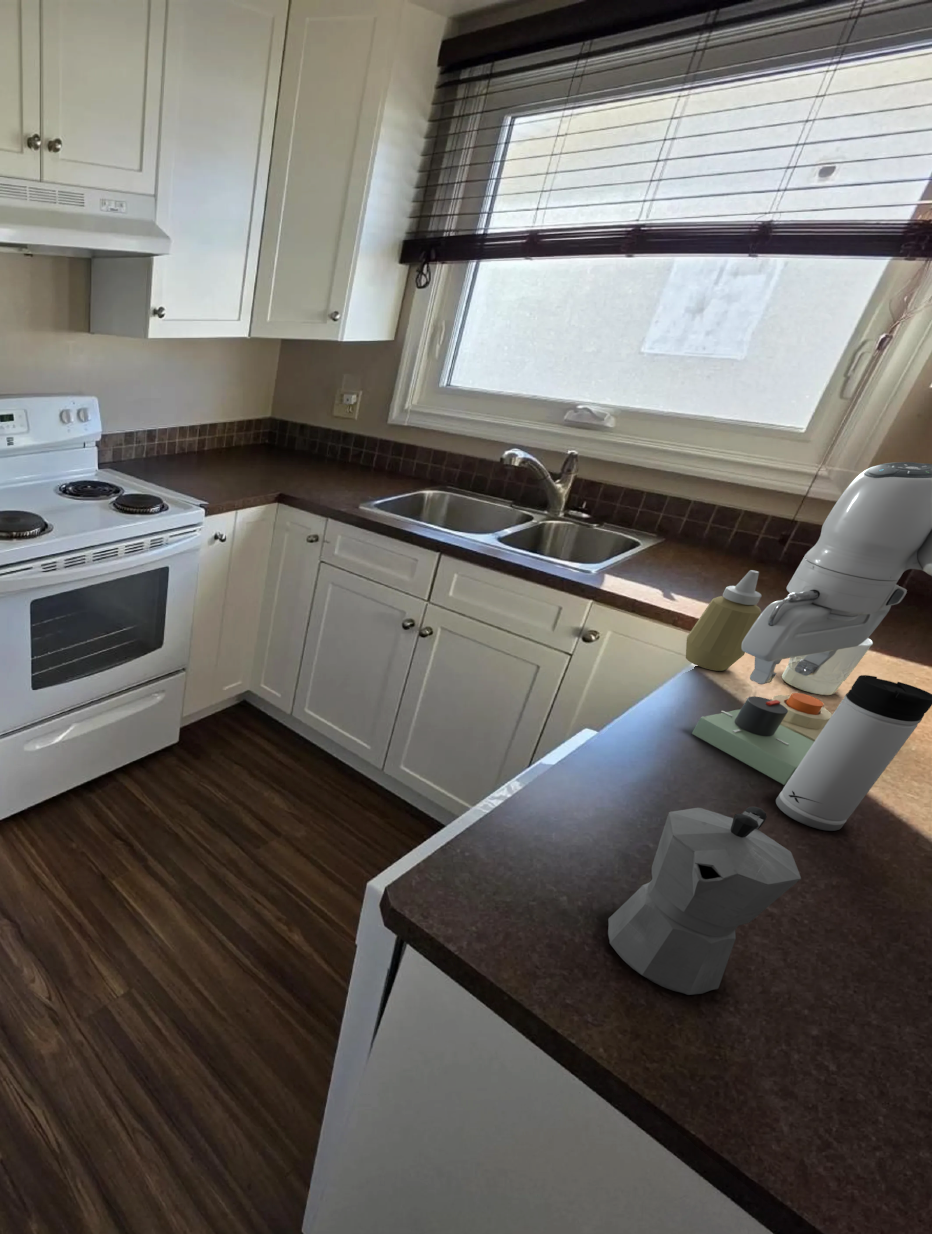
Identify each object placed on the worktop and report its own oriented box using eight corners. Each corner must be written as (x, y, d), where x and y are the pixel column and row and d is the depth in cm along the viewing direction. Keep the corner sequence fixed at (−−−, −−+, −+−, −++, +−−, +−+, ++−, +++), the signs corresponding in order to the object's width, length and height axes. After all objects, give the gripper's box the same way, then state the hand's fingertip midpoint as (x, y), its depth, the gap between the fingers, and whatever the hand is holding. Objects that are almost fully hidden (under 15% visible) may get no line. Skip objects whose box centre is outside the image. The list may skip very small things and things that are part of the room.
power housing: (860, 748, 100) (875, 726, 98) (821, 758, 97) (836, 736, 95) (774, 708, 109) (787, 687, 107) (736, 716, 106) (749, 694, 105)
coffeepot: (692, 1028, 60) (797, 886, 52) (578, 950, 67) (655, 814, 59) (747, 946, 68) (846, 812, 60) (640, 884, 75) (716, 755, 67)
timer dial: (760, 738, 96) (776, 713, 94) (726, 721, 100) (741, 696, 98) (781, 733, 97) (796, 709, 95) (747, 716, 101) (761, 692, 99)
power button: (823, 713, 101) (829, 704, 100) (807, 717, 100) (813, 707, 99) (795, 700, 104) (801, 691, 104) (779, 704, 103) (785, 694, 102)
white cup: (773, 682, 116) (804, 631, 112) (780, 668, 121) (809, 618, 116) (837, 703, 111) (871, 650, 106) (840, 687, 116) (874, 635, 111)
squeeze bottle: (672, 661, 122) (718, 569, 114) (683, 648, 127) (729, 558, 118) (728, 680, 117) (782, 584, 108) (738, 665, 121) (790, 573, 113)
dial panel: (831, 772, 94) (843, 754, 93) (783, 784, 92) (796, 766, 90) (734, 722, 105) (744, 705, 103) (689, 732, 102) (699, 715, 100)
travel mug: (780, 819, 85) (871, 686, 76) (770, 791, 90) (854, 662, 81) (847, 840, 82) (951, 705, 73) (833, 810, 87) (928, 679, 78)
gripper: (814, 605, 82) (757, 699, 89) (915, 591, 88) (854, 680, 95) (756, 584, 88) (706, 674, 94) (855, 572, 94) (801, 658, 100)
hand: (781, 677), depth 95 cm, fingers open, 8 cm apart
